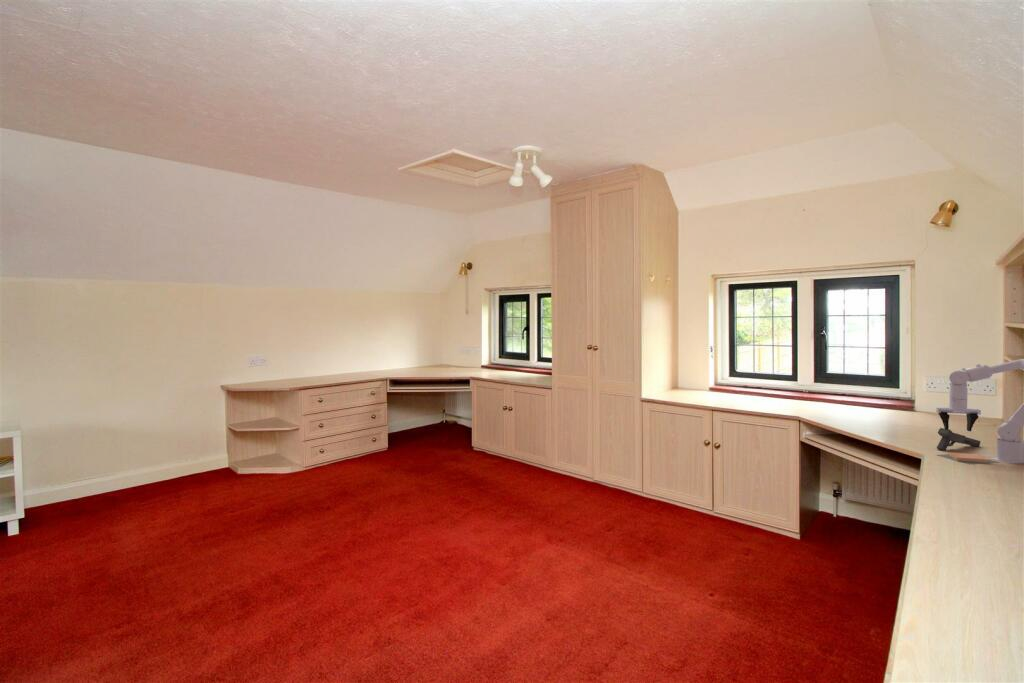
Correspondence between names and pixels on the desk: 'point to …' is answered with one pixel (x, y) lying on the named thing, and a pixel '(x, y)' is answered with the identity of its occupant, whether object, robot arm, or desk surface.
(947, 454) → the mat
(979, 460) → the tile
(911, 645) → the desk surface
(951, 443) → the handgun
